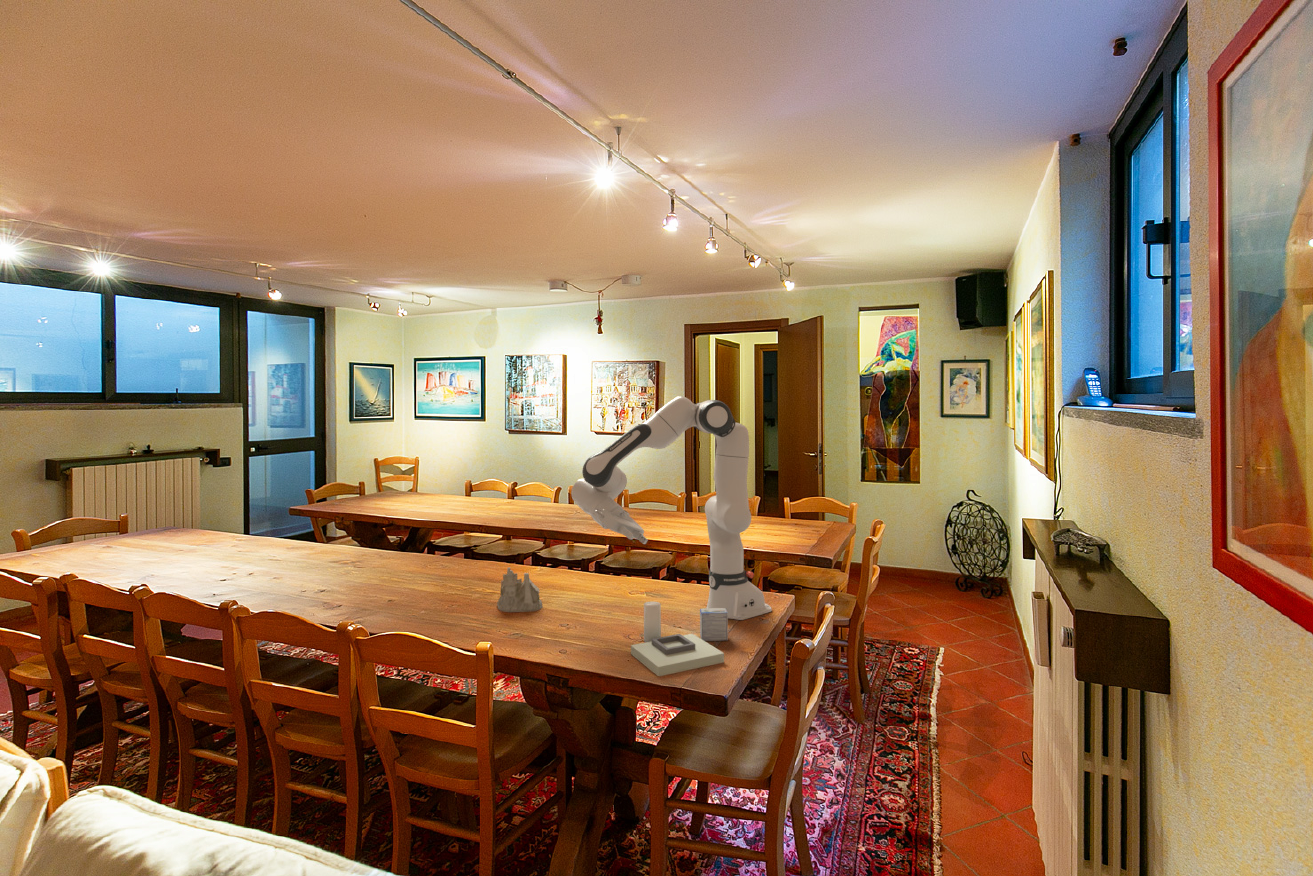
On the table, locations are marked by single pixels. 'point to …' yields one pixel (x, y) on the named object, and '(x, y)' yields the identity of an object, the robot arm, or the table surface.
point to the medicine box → (713, 624)
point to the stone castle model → (518, 594)
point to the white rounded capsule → (652, 621)
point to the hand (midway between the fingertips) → (639, 539)
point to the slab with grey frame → (676, 654)
